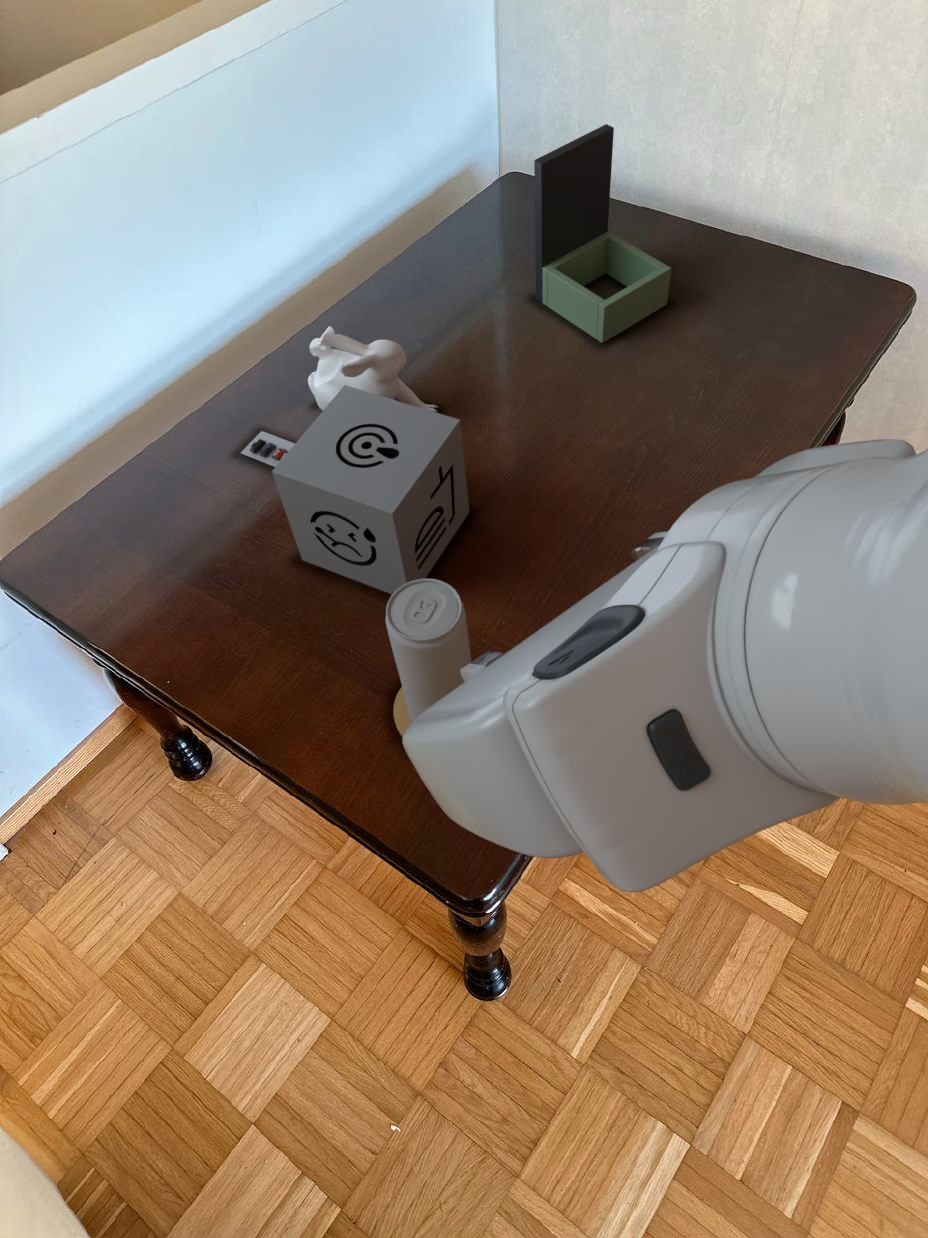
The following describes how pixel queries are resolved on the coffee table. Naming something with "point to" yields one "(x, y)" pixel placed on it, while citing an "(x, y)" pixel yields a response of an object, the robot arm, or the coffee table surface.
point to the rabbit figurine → (359, 369)
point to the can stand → (589, 242)
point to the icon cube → (375, 489)
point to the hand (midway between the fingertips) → (567, 615)
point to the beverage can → (427, 641)
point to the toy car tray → (268, 448)
